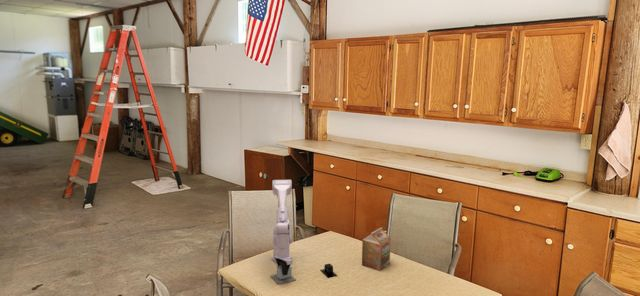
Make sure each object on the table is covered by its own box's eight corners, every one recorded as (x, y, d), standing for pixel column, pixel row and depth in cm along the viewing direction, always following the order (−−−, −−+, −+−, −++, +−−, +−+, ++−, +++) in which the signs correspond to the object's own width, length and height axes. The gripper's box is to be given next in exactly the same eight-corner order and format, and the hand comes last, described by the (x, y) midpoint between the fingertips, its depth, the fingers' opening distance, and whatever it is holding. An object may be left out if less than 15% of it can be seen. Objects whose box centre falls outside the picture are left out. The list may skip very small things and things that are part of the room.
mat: (270, 277, 209) (270, 275, 209) (287, 273, 214) (287, 271, 213) (278, 284, 201) (278, 283, 201) (295, 280, 206) (295, 279, 206)
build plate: (317, 270, 218) (317, 261, 218) (330, 267, 221) (330, 259, 221) (327, 280, 207) (327, 271, 207) (341, 277, 210) (341, 268, 210)
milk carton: (379, 271, 217) (380, 235, 213) (361, 265, 223) (362, 230, 220) (389, 264, 225) (391, 229, 222) (372, 258, 231) (373, 225, 228)
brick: (276, 276, 208) (276, 266, 207) (288, 273, 211) (288, 263, 210) (280, 279, 204) (280, 269, 204) (291, 276, 207) (291, 267, 206)
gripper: (269, 242, 209) (269, 268, 211) (281, 253, 197) (281, 281, 199) (282, 239, 212) (282, 265, 215) (295, 250, 200) (295, 277, 202)
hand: (283, 273), depth 207 cm, fingers closed on brick, 4 cm apart
